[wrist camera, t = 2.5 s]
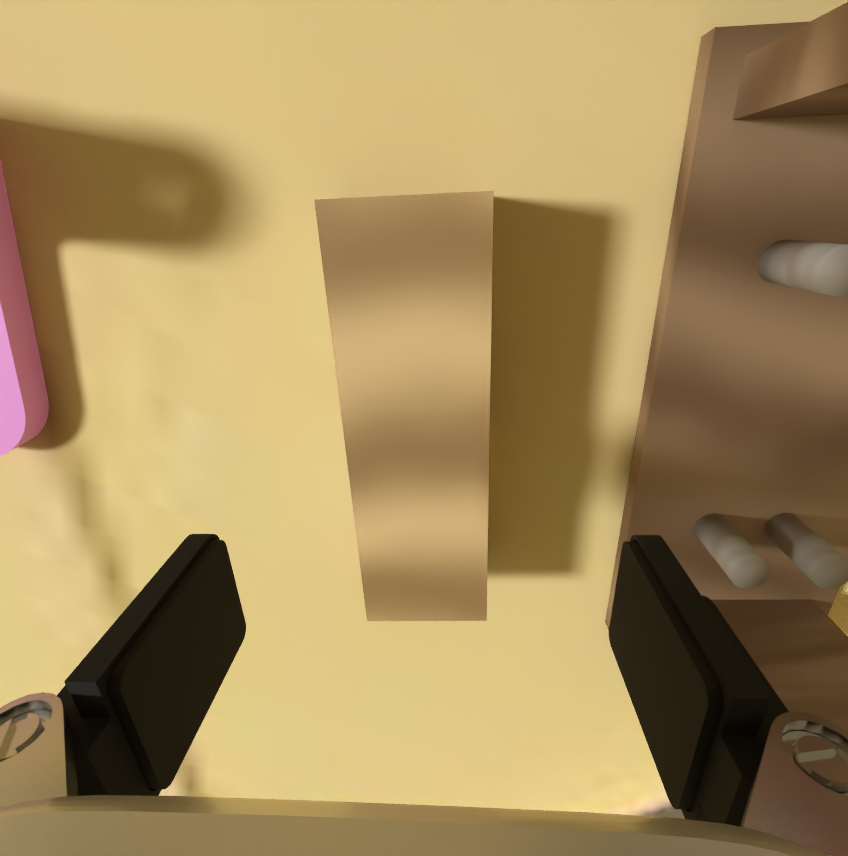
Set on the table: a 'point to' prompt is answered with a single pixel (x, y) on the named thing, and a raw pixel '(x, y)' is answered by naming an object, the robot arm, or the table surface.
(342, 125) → the table surface
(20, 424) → the bracket
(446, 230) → the plank
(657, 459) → the holder
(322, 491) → the table surface
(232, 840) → the robot arm
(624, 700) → the table surface
